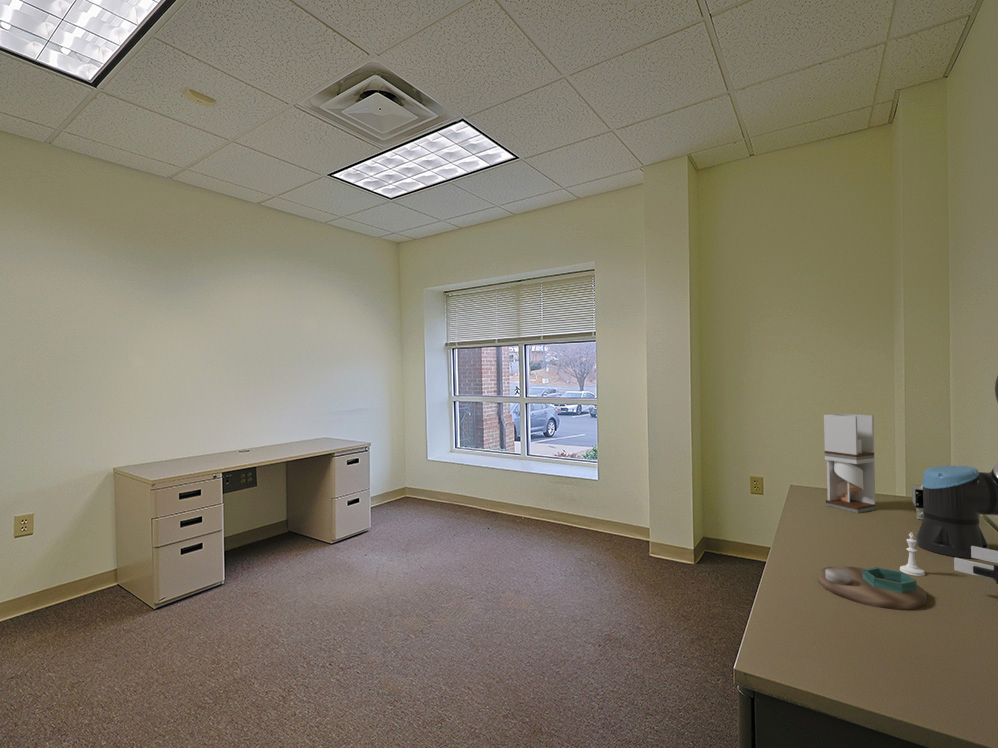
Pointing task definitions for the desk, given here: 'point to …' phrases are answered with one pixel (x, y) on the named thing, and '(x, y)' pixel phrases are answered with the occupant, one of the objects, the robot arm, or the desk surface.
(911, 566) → the chess piece
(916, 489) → the pneumatic valve
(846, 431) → the spiral staircase model
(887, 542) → the desk surface
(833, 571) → the carrier
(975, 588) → the desk surface
